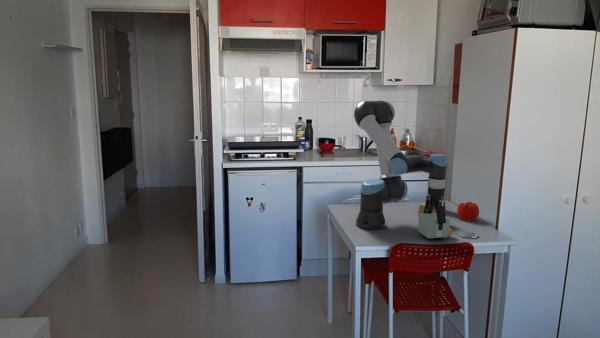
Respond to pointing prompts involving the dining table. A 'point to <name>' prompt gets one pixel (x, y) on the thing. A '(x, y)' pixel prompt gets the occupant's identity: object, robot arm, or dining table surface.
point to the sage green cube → (432, 225)
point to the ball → (450, 232)
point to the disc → (466, 234)
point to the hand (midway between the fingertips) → (433, 232)
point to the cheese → (421, 208)
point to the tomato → (468, 211)
